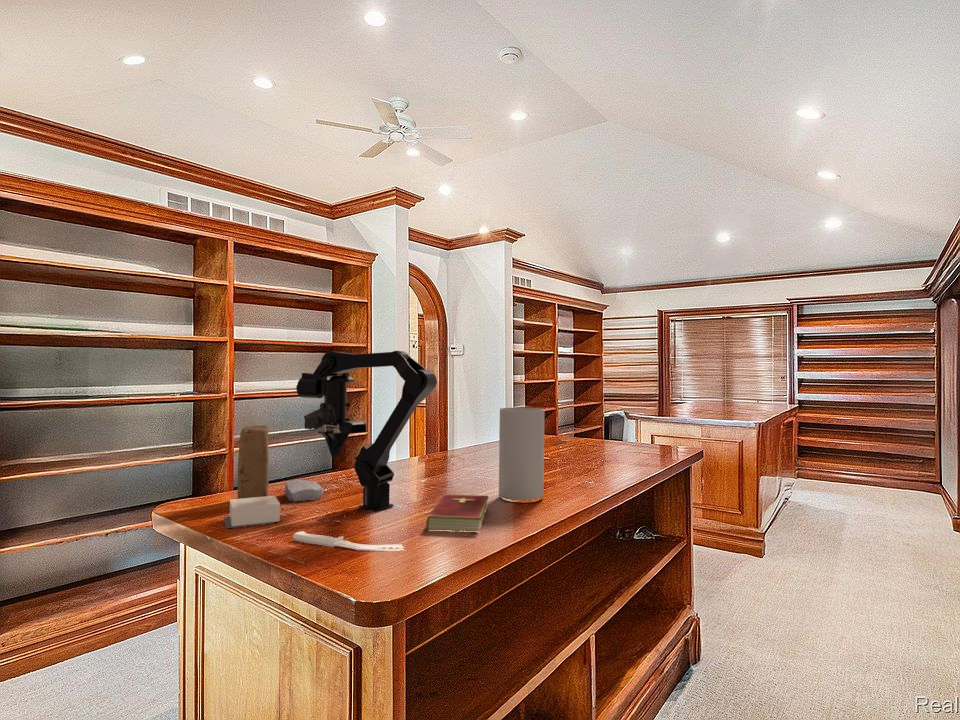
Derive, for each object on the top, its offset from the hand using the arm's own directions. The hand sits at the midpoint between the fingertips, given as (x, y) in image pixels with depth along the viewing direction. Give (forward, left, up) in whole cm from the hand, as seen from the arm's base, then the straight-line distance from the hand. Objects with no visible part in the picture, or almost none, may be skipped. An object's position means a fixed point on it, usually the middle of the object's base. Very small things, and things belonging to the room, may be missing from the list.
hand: (334, 457), depth 144 cm
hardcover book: (-36, -8, -13) cm, 39 cm away
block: (+18, +12, -12) cm, 25 cm away
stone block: (+12, 0, -12) cm, 17 cm away
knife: (-32, +18, -13) cm, 39 cm away
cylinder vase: (-36, -36, -12) cm, 52 cm away
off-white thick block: (-1, +18, -10) cm, 20 cm away
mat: (+2, +23, -12) cm, 26 cm away
